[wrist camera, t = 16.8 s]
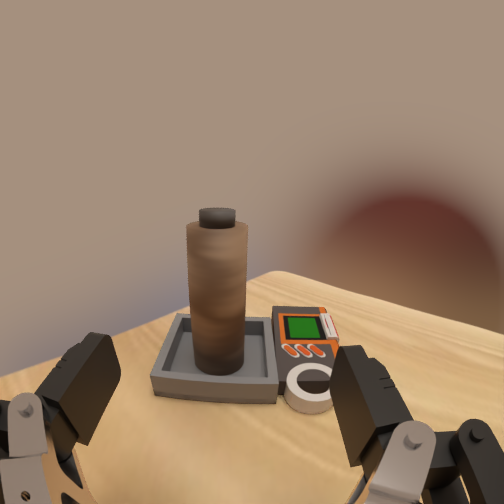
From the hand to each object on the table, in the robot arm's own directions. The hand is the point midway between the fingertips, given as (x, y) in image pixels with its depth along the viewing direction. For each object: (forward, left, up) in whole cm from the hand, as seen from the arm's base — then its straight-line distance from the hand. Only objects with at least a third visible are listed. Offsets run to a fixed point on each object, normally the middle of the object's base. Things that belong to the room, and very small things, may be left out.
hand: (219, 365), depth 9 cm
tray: (+2, -14, -12) cm, 18 cm away
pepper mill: (+2, -14, -11) cm, 18 cm away
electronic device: (-7, -15, -13) cm, 20 cm away
